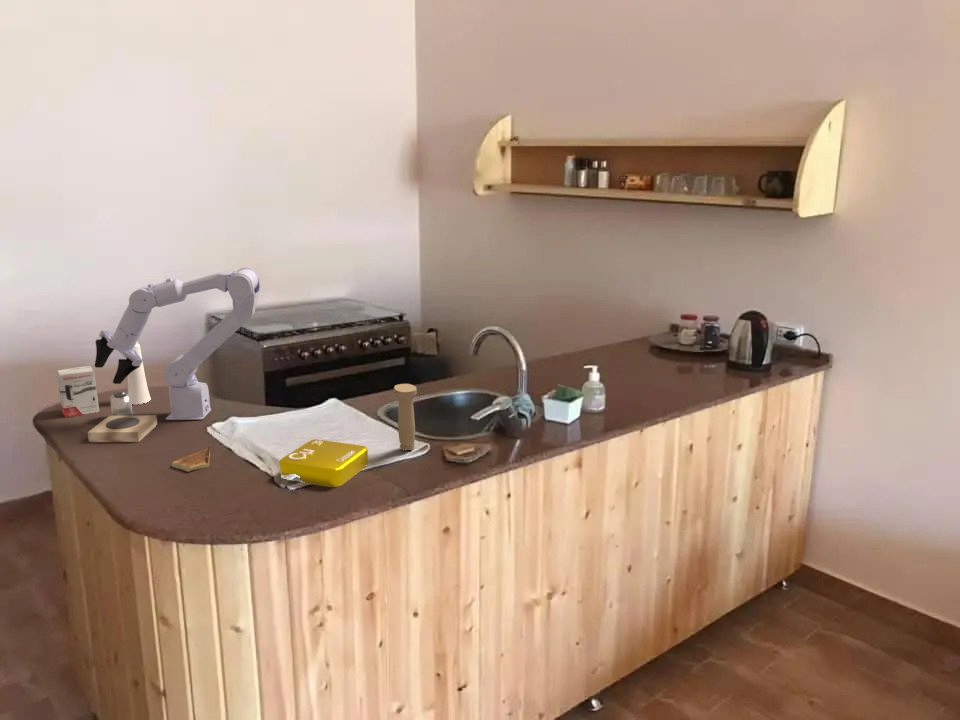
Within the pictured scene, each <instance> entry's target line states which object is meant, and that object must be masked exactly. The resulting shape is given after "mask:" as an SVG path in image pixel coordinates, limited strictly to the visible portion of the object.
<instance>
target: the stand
mask: <svg viewBox="0 0 960 720" xmlns="http://www.w3.org/2000/svg"><path fill="white" fill-rule="evenodd" d="M157 417H158V416H157V415H153V414H152V415H133V416H112V415H107V417H105V418H104V419H103V420H101V421H100V422H99V423H97V425H95V426H93V428H91V429H90V430H89V431H87V439H88V443H140V442H141V440H143V439H144V438H145V437H146V436H147V435H148V434H149V433H150V432H151V431H152V430H153V429H155V428H156V425H157V426H158V418H157Z"/></svg>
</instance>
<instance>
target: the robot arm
mask: <svg viewBox="0 0 960 720" xmlns="http://www.w3.org/2000/svg"><path fill="white" fill-rule="evenodd" d="M214 289H217V290H219V291H221V292H223V293H226V292H228V293H229V295H230V298H231V299H232V310H231V311H230V312H229V313H227V315H226V316H224V318H223V319H222V320H221V321H219V322H218V323H217V324H216V325H215V326H214V327H212V329H210V331H208V333H207V334H205V335H204V336H203V337H202V338H201V339H200V340H199V341H197V343H196V344H194V345H193V347H191V348H190V349H189V350H188V351H187V352H185V353H181V354H179V355H177V356H176V357H175V358H174V360H173V361H172V362H170V363H169V364H167V365H166V366H165V367H164V370H163V376H164V379H165V381H166V382H167V385H168V386H167V387H168V395H169V403H170V404H169V405H170V412H171V413H170V414H168V416H167V417H165V419H166V421H191V420H192V421H193V420H195V421H196V420H197V421H200V420H201V421H202V420H204V418H206V416H207V415H208V414H209V413H210V412H212V408H211V402H210V391H209V386H208V384H207V382H200V381H198V378H197V376H196V373H197V371H198V370H199V366H200V365H201V364H203V362H205V360H206V359H208V358H209V357H210V356H212V354H214V352H215V351H217V349H218V348H220V346H222V345H223V344H224V343H225V342H226V341H227V340H229V338H230V337H231V336H233V334H235V333H236V332H237V331H238V330H239V329H241V328H242V326H243V325H244V324H245V323H247V322H248V321H249V320H250V319H251V318H252V317H253V315H254V314H255V311H256V308H257V302H258V297H259V294H260V291H261V283H260V277H259V274H258V273H257V271H255V269H253V268H251V267H241V268H239V269H238V270H237V268H235V269H228V270H223V271H218V272H215V273H211V274H208V275H204V276H202V277H199V278H195V279H191V280H187V281H182V280H180V279H177V278H176V279H175V278H174V279H173V277H169V278H166V279H165V281H163V282H160V283H157V284H153V283H149V284H147V285H146V286H142V287H139V288H138V289H136V290H134V291H132V293H131V294H130V295H129V298H128V305H127V306H126V309H125V311H124V313H123V314H122V317H121V319H120V320H119V323H118V326H117V327H116V328H115V331H114V333H113V332H111V330H108V329H101V331H100V332H99V334H98V337H99V338H100V339H99V338H98V339H96V340H95V348H96V354H95V355H96V356H95V362H94V367H95V368H96V369H97V368H100V369H101V368H104V366H105V364H106V363H107V361H108V360H109V357H110V355H111V354H112V353H113V352H114V351H115V350H116V351H117V352H118V353H120V354H121V355H122V356H124V357H125V359H124V358H119V359H118V364H117V368H116V371H115V374H114V377H113V380H112V383H113V384H114V385H116V384H117V385H120V384H122V383H123V382H124V380H125V379H126V378H128V375H129V374H130V373H131V372H132V371H134V370H135V369H137V368H139V367H140V365H141V363H142V361H144V359H143V358H142V359H141V358H140V356H139V355H138V353H137V352H136V350H135V349H134V347H135V345H136V343H137V341H139V338H140V336H141V334H142V333H143V330H144V328H145V326H146V324H147V322H148V319H149V316H151V315H150V314H151V313H152V309H154V308H156V307H158V308H161V307H165V306H169V305H172V304H177V303H180V302H184V301H185V300H186V299H187V296H188V295H192V294H196V293H201V292H206V291H210V290H214Z"/></svg>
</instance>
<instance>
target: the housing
mask: <svg viewBox="0 0 960 720" xmlns="http://www.w3.org/2000/svg"><path fill="white" fill-rule="evenodd" d="M109 403H110V409H111V410H110V411H111V416H134V411H133V405H132V402H131V395H130V394H129V393H128V392H127V391H126V390H116V391H113V393H112V395H110V396H109Z"/></svg>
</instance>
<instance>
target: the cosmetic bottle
mask: <svg viewBox="0 0 960 720" xmlns="http://www.w3.org/2000/svg"><path fill="white" fill-rule="evenodd" d="M138 341H139V340H138ZM138 341H137V343H136V345H135V347H134V349H135V350H136V352H137V353H138V355H139V356H140V358H141V359H142V360H143V357H142V356H143V355H142V350H141V345H140V343H139V342H138ZM143 361H144V360H143ZM143 361H142V363H141V365H140V367H139V368H137V369H135V370H134V371H132V372H131V373H130V374H129V375H128V376H127V393H129V394H130V395H131V402H132V404H133V405H132V406H137V405H138V404H139V405H144V404H143V403H145V404H147V402H148V403H149V401H150V400H151V401H152V399H151V398H152V397H151V396H150V395H151V394H150V392H149V388H148V384H147V379H146V374H145V367H144V362H143ZM151 401H150V402H151Z"/></svg>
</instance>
